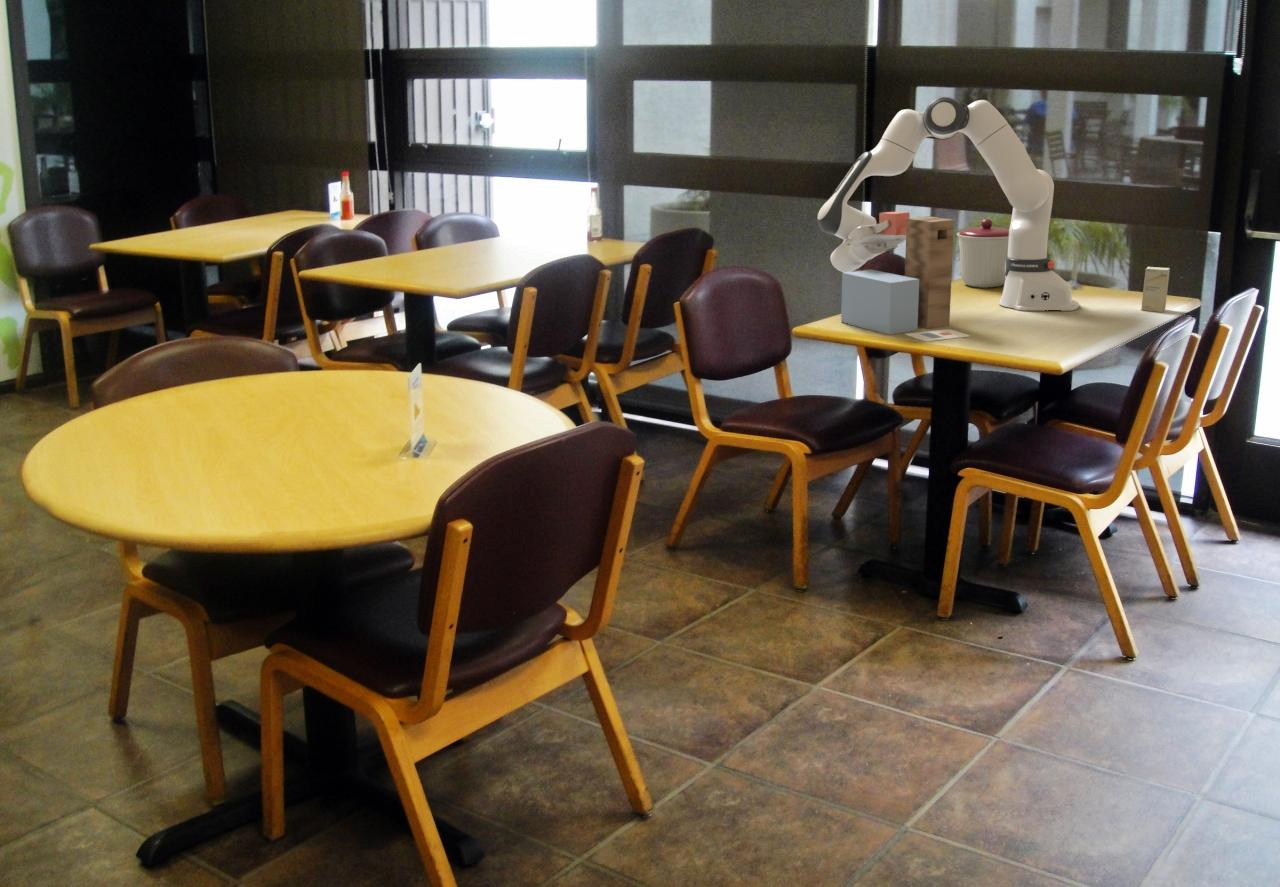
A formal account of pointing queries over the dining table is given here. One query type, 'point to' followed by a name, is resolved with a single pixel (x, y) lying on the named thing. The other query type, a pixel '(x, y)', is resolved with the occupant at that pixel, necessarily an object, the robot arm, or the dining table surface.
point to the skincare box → (1155, 289)
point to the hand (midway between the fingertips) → (897, 221)
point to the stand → (931, 267)
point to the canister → (983, 255)
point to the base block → (880, 301)
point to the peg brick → (894, 222)
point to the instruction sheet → (937, 335)
